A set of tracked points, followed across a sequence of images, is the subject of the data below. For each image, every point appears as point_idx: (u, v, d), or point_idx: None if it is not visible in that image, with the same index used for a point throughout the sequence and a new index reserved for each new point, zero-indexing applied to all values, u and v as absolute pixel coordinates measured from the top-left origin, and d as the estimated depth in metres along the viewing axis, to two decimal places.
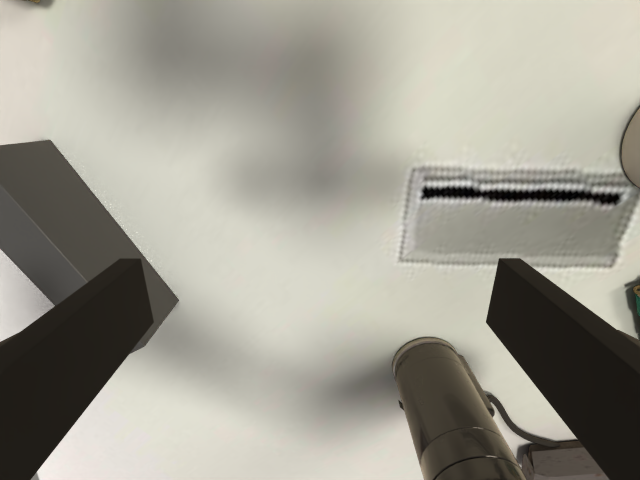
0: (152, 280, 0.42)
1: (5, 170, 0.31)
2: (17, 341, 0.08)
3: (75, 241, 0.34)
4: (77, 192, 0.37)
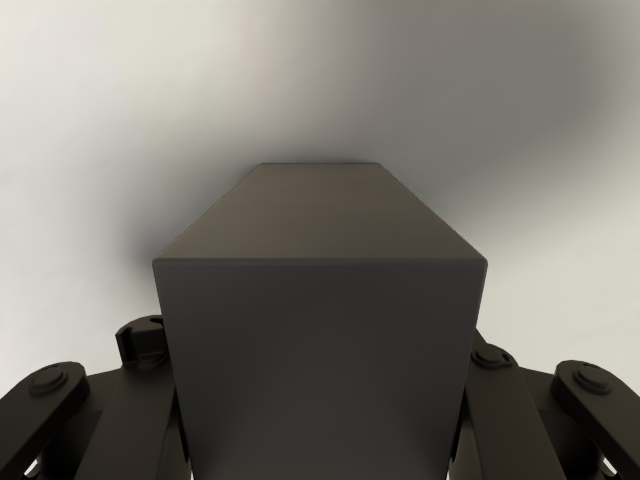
0: None
1: None
2: None
3: None
4: None
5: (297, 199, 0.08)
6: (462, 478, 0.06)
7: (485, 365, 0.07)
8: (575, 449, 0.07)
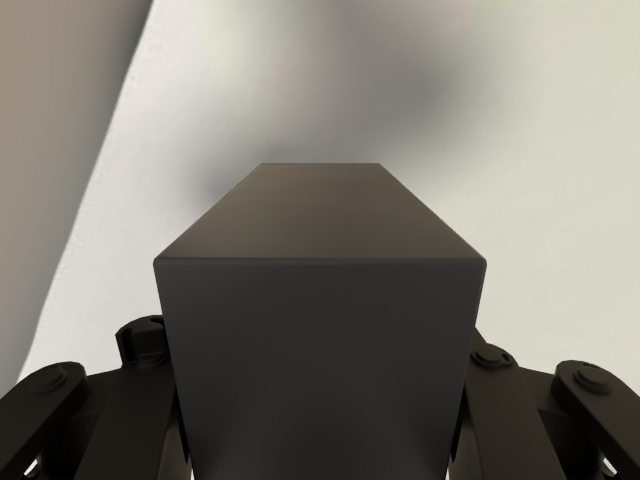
0: None
1: None
2: None
3: None
4: None
5: (296, 199, 0.08)
6: (462, 478, 0.06)
7: (485, 365, 0.07)
8: (575, 449, 0.07)
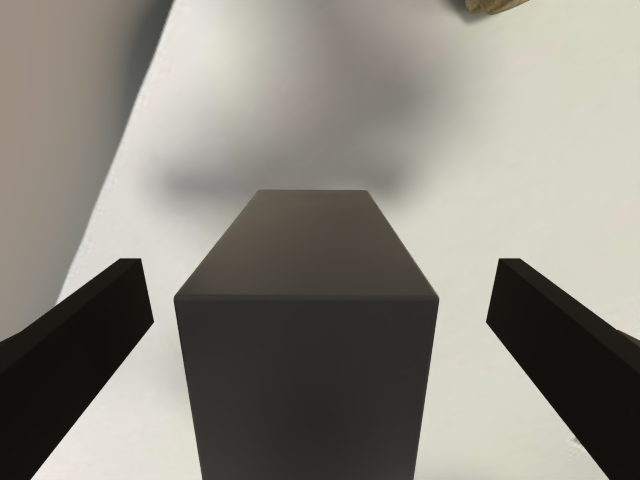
0: None
1: None
2: (17, 341, 0.08)
3: None
4: None
5: (290, 233, 0.09)
6: None
7: None
8: None
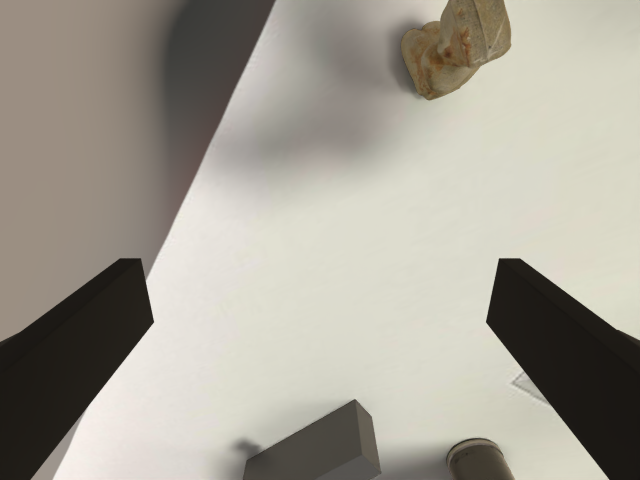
0: None
1: None
2: (17, 341, 0.08)
3: None
4: None
5: (366, 439, 0.50)
6: None
7: None
8: None
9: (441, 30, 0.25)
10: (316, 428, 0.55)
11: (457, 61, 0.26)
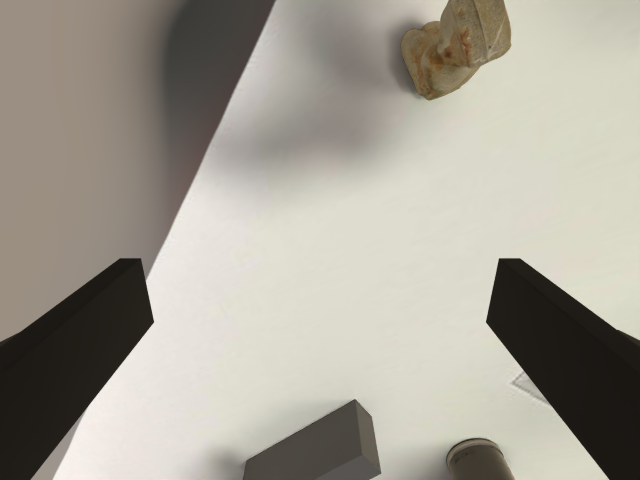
0: None
1: None
2: (17, 341, 0.08)
3: None
4: None
5: (366, 439, 0.50)
6: None
7: None
8: None
9: (441, 30, 0.25)
10: (316, 428, 0.55)
11: (457, 61, 0.26)
